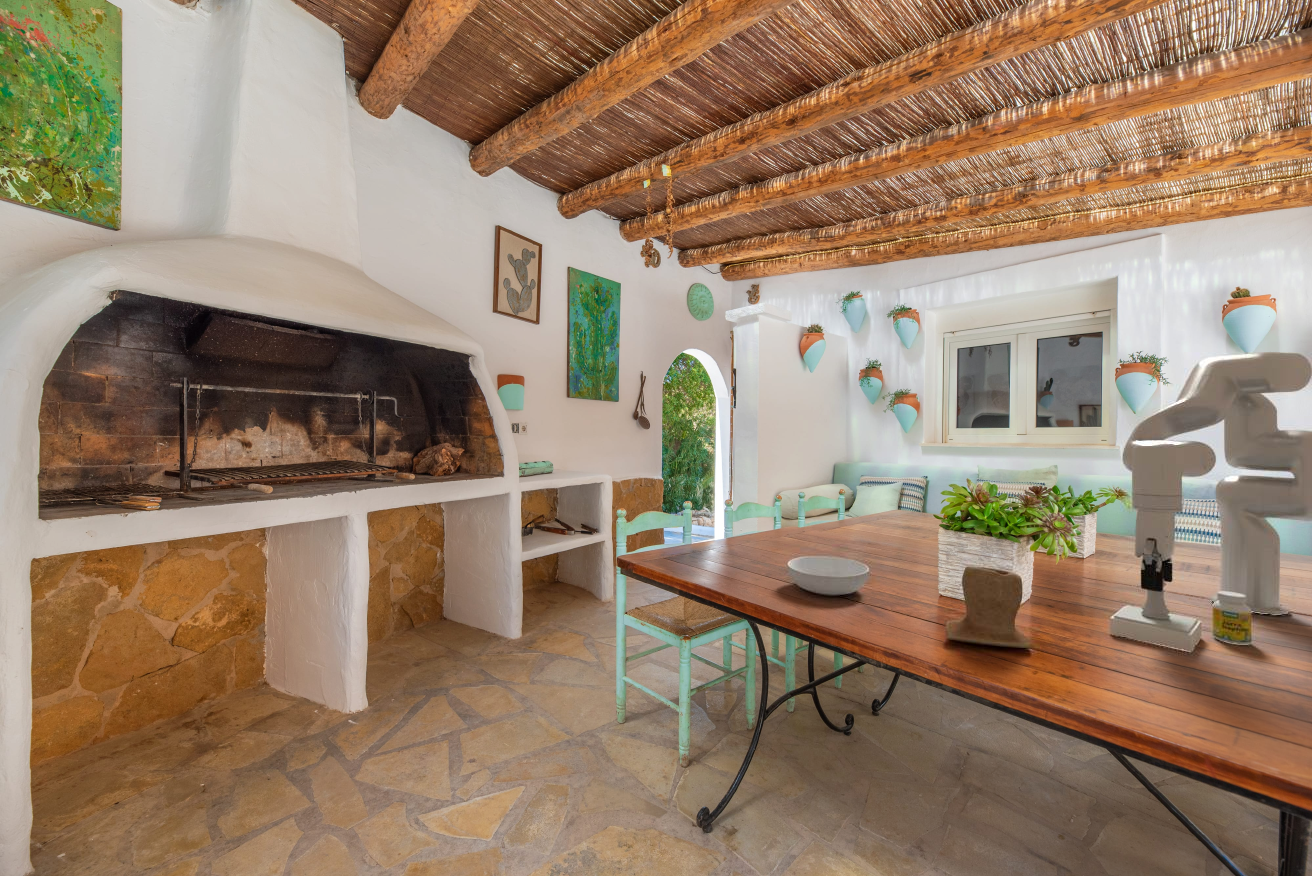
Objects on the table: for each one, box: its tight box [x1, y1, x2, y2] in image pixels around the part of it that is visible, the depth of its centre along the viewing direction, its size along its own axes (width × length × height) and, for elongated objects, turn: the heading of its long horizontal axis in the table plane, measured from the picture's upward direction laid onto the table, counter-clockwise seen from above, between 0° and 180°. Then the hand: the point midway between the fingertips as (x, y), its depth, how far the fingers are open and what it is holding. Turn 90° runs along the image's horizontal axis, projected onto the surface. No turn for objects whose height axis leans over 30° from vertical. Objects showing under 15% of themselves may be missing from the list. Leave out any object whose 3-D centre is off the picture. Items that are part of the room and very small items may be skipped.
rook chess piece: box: [1141, 579, 1171, 620], centre depth 110 cm, size 4×4×8 cm
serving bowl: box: [786, 555, 870, 596], centre depth 143 cm, size 21×21×7 cm
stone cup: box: [945, 565, 1032, 649], centre depth 108 cm, size 15×12×15 cm
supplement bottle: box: [1212, 590, 1253, 645], centre depth 108 cm, size 5×5×10 cm
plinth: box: [1109, 604, 1202, 652], centre depth 110 cm, size 12×12×4 cm
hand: (1156, 585), depth 110 cm, fingers open, 9 cm apart
